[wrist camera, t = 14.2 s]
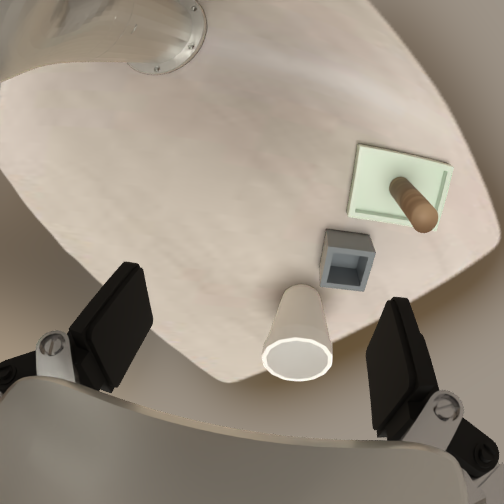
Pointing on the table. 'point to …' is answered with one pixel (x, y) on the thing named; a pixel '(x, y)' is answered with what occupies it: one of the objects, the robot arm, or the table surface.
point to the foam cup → (298, 337)
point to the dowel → (414, 205)
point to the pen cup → (346, 260)
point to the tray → (380, 176)
